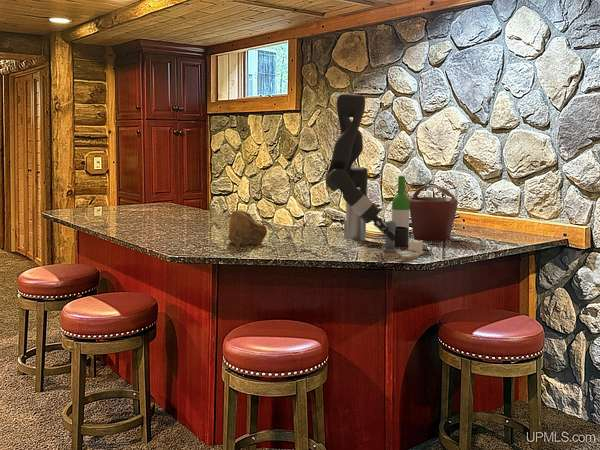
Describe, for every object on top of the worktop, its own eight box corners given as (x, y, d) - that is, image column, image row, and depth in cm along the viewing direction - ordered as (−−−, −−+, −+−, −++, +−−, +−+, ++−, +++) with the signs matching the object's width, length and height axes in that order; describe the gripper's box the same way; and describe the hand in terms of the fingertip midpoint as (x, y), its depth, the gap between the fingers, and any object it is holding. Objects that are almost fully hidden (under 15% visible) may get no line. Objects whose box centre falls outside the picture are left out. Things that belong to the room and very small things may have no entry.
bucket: (464, 241, 299) (466, 187, 296) (421, 243, 292) (423, 187, 289) (437, 234, 322) (439, 183, 319) (396, 235, 315) (398, 183, 312)
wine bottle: (394, 245, 286) (396, 176, 282) (388, 242, 294) (390, 175, 290) (411, 245, 288) (413, 176, 284) (404, 242, 295) (407, 175, 291)
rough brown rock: (263, 250, 274) (266, 215, 273) (224, 246, 275) (227, 211, 273) (267, 243, 297) (270, 211, 296) (231, 240, 298) (234, 207, 296)
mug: (408, 246, 283) (408, 226, 282) (407, 251, 272) (408, 229, 271) (386, 245, 285) (386, 225, 284) (384, 250, 274) (385, 228, 272)
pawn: (380, 252, 260) (381, 220, 258) (386, 250, 264) (387, 219, 262) (392, 253, 257) (393, 221, 255) (398, 251, 261) (399, 220, 260)
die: (408, 253, 266) (408, 241, 265) (410, 251, 271) (410, 239, 270) (420, 254, 264) (421, 241, 264) (422, 252, 269) (422, 240, 269)
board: (346, 253, 265) (346, 249, 265) (358, 249, 274) (358, 246, 274) (408, 260, 251) (408, 256, 250) (419, 256, 260) (419, 252, 260)
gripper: (373, 204, 251) (402, 234, 252) (371, 200, 265) (398, 229, 266) (359, 217, 252) (388, 247, 253) (357, 213, 266) (385, 241, 267)
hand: (393, 238), depth 260 cm, fingers open, 8 cm apart
